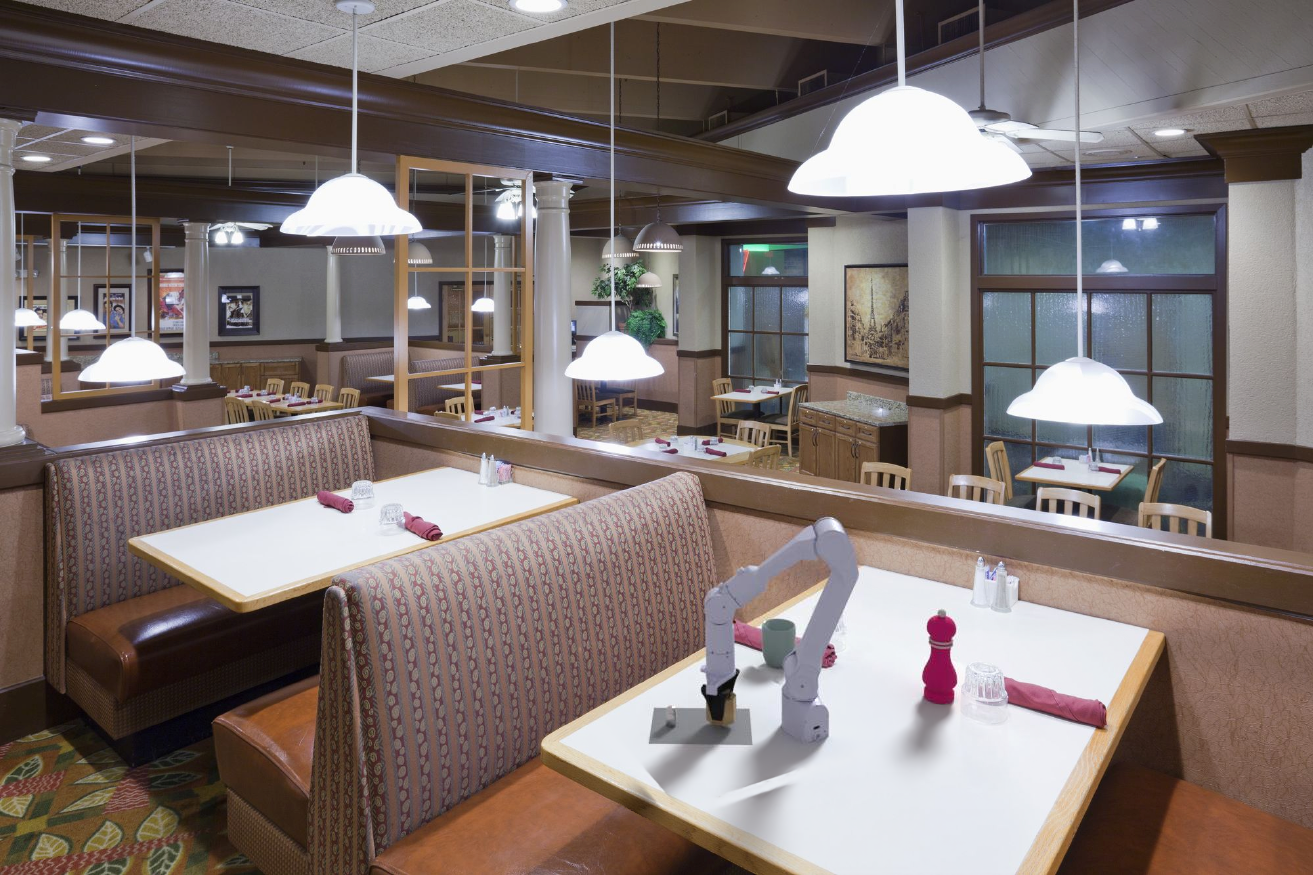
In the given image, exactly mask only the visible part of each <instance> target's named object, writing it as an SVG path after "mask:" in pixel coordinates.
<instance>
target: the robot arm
mask: <svg viewBox="0 0 1313 875" xmlns="http://www.w3.org/2000/svg"><path fill="white" fill-rule="evenodd" d="M855 550H856V548H855V547H854V545H853V543H852V541H851V540H850V536H849V534H848V533H847V531H846V529H845V528H844V526H843V525H842V523H841V522H840V521H839V520H837V519H836V518H833V517H830V516H825V517H821V518H819V519H818V520H816V521H815V523H813V525H812V524H811V525H809V526H807V527H805V528H804V529H803V530H801V532H799V533H798V534H797V535H795V536H794V537H793V538H792V539H791V540H790V541H788V542H787V543H785V545H783V546H782V547H780V548H779V549H778V550H777V551H775V553H773V554H772V555H770V556H769V557H768V558H767V559H765V561H763V562H762V563H760V564H759V565H757V566H756V565H747V566H746V567H743V566H740V567H739V568H738V569H737V570H736V574H735V575H733V576H732V577H731V578H729V579H728V580H727V581H725V582H719V583H718V585H717V587H716V586H715V587H712V588H711V589H709V590H708V592H707V593H706V594H705V597H704V608H703V609H704V614H705V628H704V629H705V630H704V632H705V636H704V637H705V664H703V665H701V667H700V670H699V671H700V672H701V673H704V674H705V680H706V684H705V683H703V684H702V685H701V687H700V693H701V695H702V696H703V698H704V700H705V703H706V702H707V704H708V707H709V711H710V715H711V718H712V720H717V721H722V720H723V717H724V711H725V703H726V699H727V696H728V694H729V692H730V690H731V691H732V692H733V693H734V690H735V689H734V688H735V684H736V682H737V679H738V676H739V675H740V672H741V670H740V669H739V668H736V664H735V663H736V659H735V658H736V657H735V656H736V655H735V654H736V653H735V652H736V651H735V650H736V649H735V626H734V624H733V618H734V617H735V614H736V610H739V609H742V608H743V607H744V606H745V605H747V604H749V603H750V602H751V601H752V600H754V599H756V598H757V597H759V595H761V594H763V593H764V592H765V591H766V590H767V587H768V582H769V581H770V580H771V579H773V578H774V577H777V576H778V575H780V574H781V573H782V572H784V571H785V570H787V569H788V568H789V567H792V566H793V565H795V564H796V563H798V562H799V561H801V560H805V561H811V562H818V557H817V556H819V558H821V559H822V560H823V561H824V562H825V563H826V564H827V566H828V567H829V570H830V571H831V572H830V573H829V576H828V578H827V580H826V582H825V585H824V587H823V589H822V591H821V594H820V596H819V599H818V601H817V603H816V605H815V608H814V610H813V612H812V615H811V616H810V619H809V621H808V623H807V626H806V628H805V629H804V633H803V635H802V636H801V639H800V640H799V641H798V642H796V645H795V647H794V649H793V651H792V652H791V653H789V654H788V655H787V656H786V657H785V659H784V661H783V668H782V671H783V674H784V680H785V683H784V684H783V685H782V687H781V729H782V731H784V732H785V733H786V734H788V735H791V736H793V737H794V738H795V739H797V740H798V741H800V742H801V743H803V744H804V745H805V744H809V743H810V742H814V741H815V742H817V741H820V740H821V739H823V738H828V737H829V735H830V729H829V728H830V727H829V726H830V725H829V724H830V722H829V721H830V720H829V719H830V713H829V710H828V708H827V706H826V705H825V704H824V703H823V702H822V700H821V698H820V695H819V677H820V674H821V672H822V666H823V658H824V655H825V653H826V650H827V648H828V646H829V644H830V641H831V640H832V636H833V635H834V632H835V630H836V628H837V626H838V623H839V622H840V619H841V617H842V615H843V613H844V611H845V608H846V606H847V603H848V601H849V599H850V598H851V595H852V593H853V590H854V588H855V586H856V584H857V581H858V579H859V576H860V573H859V567H858V562H857V557H856V551H855Z"/></svg>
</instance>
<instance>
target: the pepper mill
mask: <svg viewBox="0 0 1313 875" xmlns="http://www.w3.org/2000/svg"><path fill="white" fill-rule="evenodd" d="M926 631H927V633H928V635H929V636H928V644H929V646H930V653H929V654H930V655H929V658H928V660H927V662H926V663H925V666H924V667H923V670H922V672H921V673H922V674H921V680H922V682H923V684H924V685H925V686H924V687H923V696H924V698H925V699H926V700H927V701H929V702H931V703H934V704H941V705H945V704H946V705H947V704H951V703H952V702H954V701H955V690H954V688H956V686H957V684H958V674H957V672H956V669H955V666H954V664H953V662H952V658H951V650H952V647H953V646H954V639H953V638H954V636H956V634H957V625H956V623H955V620H953V619H952V618H951V617H950V616H947V611H946V610H945V609H943V608H941V609H938V610H937V614H936V615H933V616H931V617H930V618H928V620H927V623H926Z"/></svg>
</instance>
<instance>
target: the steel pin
mask: <svg viewBox="0 0 1313 875" xmlns="http://www.w3.org/2000/svg"><path fill="white" fill-rule="evenodd" d="M665 708H666V726H667V727H669V728H674V727H676V726H677V711H676V708H677V707H675V706H674V705H668V706H667V707H665Z"/></svg>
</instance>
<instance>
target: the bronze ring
mask: <svg viewBox="0 0 1313 875" xmlns="http://www.w3.org/2000/svg"><path fill="white" fill-rule="evenodd" d="M705 708H706V720H708V721H709V722H710V723H711V724H712V725H718V726H726V725H730V724H733V723H734V722H735V720H736V709H737V694H736V693H735V692H734V691H733V692H732V691H731V690H730V692H729V694H728V696H727V699H726V703H725V711H724V717H723V720H722V721H717V720H712V718H711V715H710V711H709V707H708V704H707V702H706V701H705Z"/></svg>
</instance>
